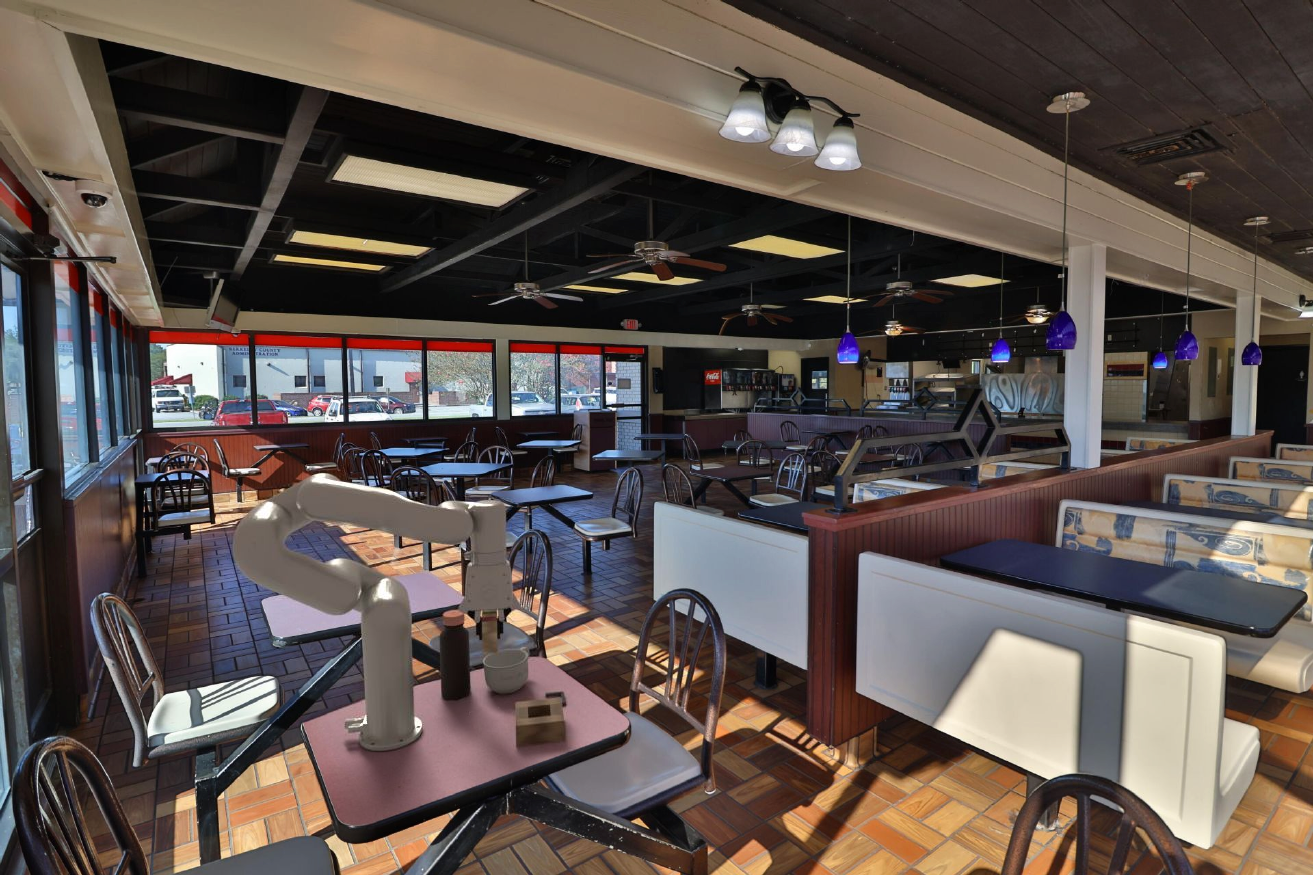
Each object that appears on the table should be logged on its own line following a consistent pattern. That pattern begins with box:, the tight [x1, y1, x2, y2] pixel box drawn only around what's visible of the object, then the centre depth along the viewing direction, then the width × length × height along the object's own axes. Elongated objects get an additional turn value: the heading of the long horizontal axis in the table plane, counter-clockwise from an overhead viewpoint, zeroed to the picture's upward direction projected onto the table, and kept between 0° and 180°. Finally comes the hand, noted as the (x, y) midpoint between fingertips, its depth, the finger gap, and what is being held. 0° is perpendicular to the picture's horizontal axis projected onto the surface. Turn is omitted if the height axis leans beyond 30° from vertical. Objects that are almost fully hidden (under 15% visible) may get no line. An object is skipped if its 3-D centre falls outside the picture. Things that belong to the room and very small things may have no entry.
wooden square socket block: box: [514, 697, 566, 747], centre depth 142 cm, size 10×10×4 cm
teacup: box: [482, 646, 530, 695], centre depth 163 cm, size 14×11×8 cm
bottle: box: [438, 609, 472, 701], centre depth 158 cm, size 7×7×20 cm
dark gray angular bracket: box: [545, 691, 566, 707], centre depth 155 cm, size 8×6×1 cm
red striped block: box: [481, 610, 498, 655], centre depth 147 cm, size 3×3×9 cm
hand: (489, 636), depth 147 cm, fingers closed on red striped block, 3 cm apart
